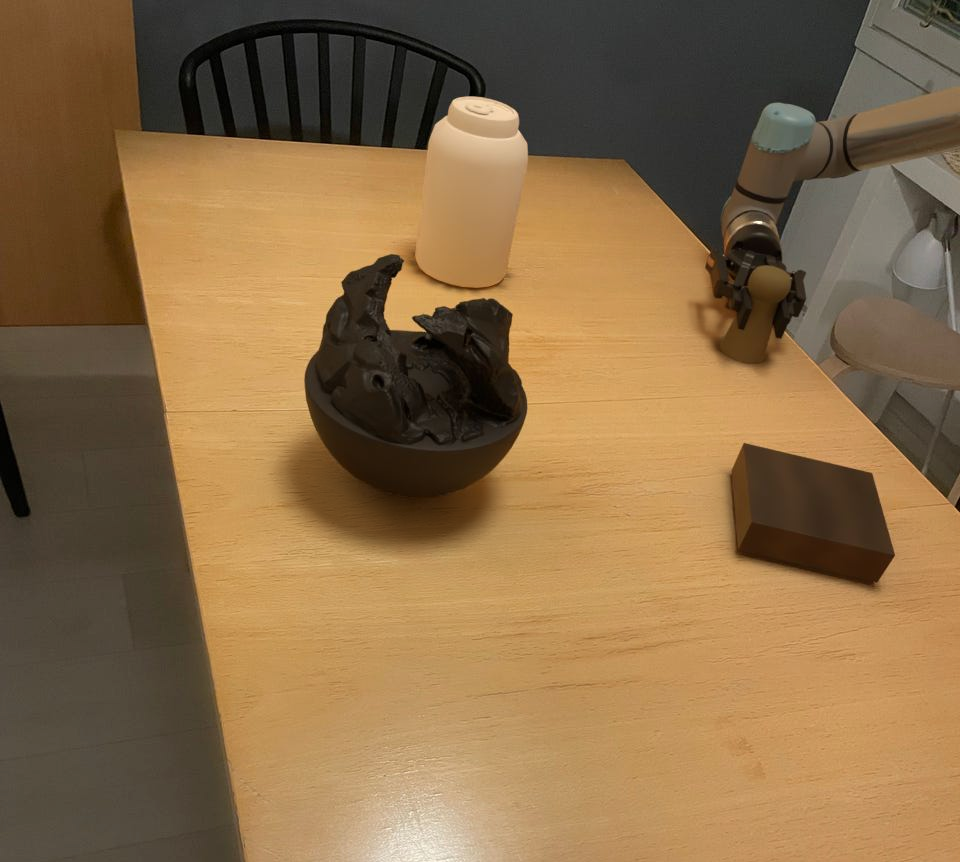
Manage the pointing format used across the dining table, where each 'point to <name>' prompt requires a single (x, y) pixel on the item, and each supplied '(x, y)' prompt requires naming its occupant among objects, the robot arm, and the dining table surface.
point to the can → (471, 193)
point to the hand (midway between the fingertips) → (763, 323)
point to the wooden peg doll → (757, 315)
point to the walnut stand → (809, 515)
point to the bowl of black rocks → (414, 390)
